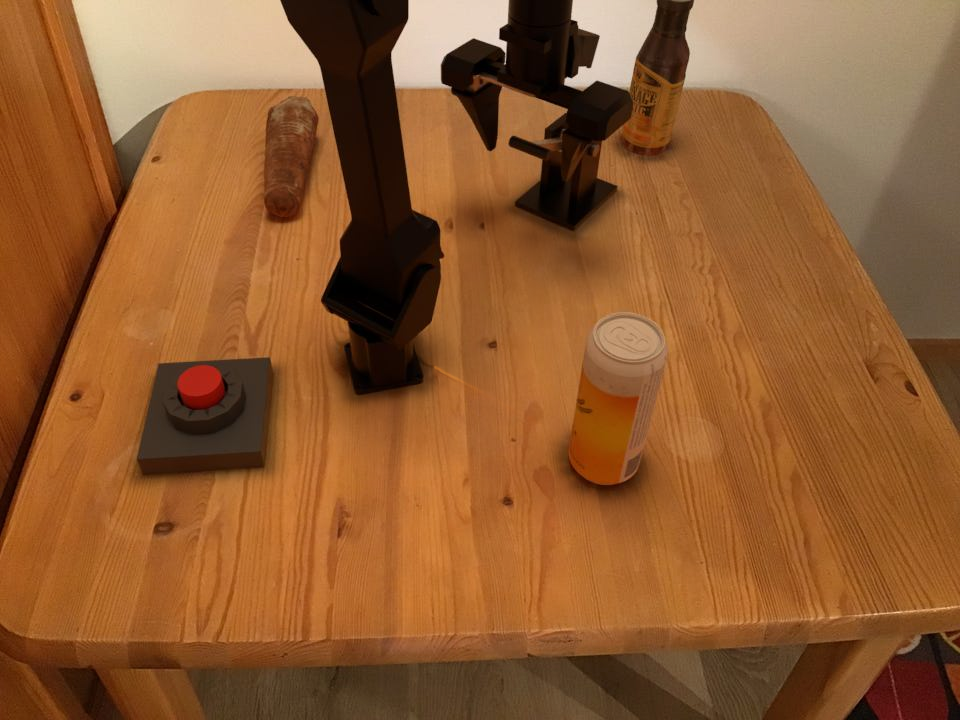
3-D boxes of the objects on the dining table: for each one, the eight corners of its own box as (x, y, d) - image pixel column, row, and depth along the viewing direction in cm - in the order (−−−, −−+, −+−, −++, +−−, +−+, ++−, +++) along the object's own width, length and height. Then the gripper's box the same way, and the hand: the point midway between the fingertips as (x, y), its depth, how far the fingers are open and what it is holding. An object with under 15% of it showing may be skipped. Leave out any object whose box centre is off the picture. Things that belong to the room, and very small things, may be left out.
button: (222, 408, 71) (218, 394, 70) (178, 411, 71) (174, 397, 70) (227, 377, 74) (223, 363, 73) (185, 380, 74) (180, 365, 72)
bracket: (573, 235, 95) (583, 159, 88) (514, 209, 98) (519, 134, 91) (616, 194, 101) (628, 120, 94) (559, 171, 104) (567, 98, 97)
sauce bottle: (610, 139, 110) (634, -17, 96) (651, 129, 112) (680, -25, 98) (637, 165, 106) (667, 6, 92) (679, 154, 108) (714, -3, 93)
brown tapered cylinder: (321, 134, 109) (316, 94, 105) (306, 223, 96) (299, 181, 92) (272, 133, 109) (265, 93, 105) (249, 223, 95) (241, 181, 91)
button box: (264, 467, 72) (257, 437, 69) (143, 475, 71) (130, 445, 68) (273, 373, 79) (267, 343, 76) (164, 379, 78) (153, 349, 76)
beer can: (593, 423, 76) (616, 297, 65) (651, 458, 73) (686, 333, 63) (553, 464, 73) (571, 339, 62) (613, 502, 70) (642, 378, 59)
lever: (542, 167, 85) (549, 144, 84) (505, 152, 87) (511, 129, 86) (592, 158, 95) (599, 137, 94) (558, 145, 97) (564, 124, 96)
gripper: (673, 11, 77) (645, 160, 88) (504, -38, 85) (497, 105, 96) (614, 56, 71) (591, 210, 82) (436, -2, 78) (438, 147, 89)
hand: (528, 164), depth 87 cm, fingers open, 9 cm apart
